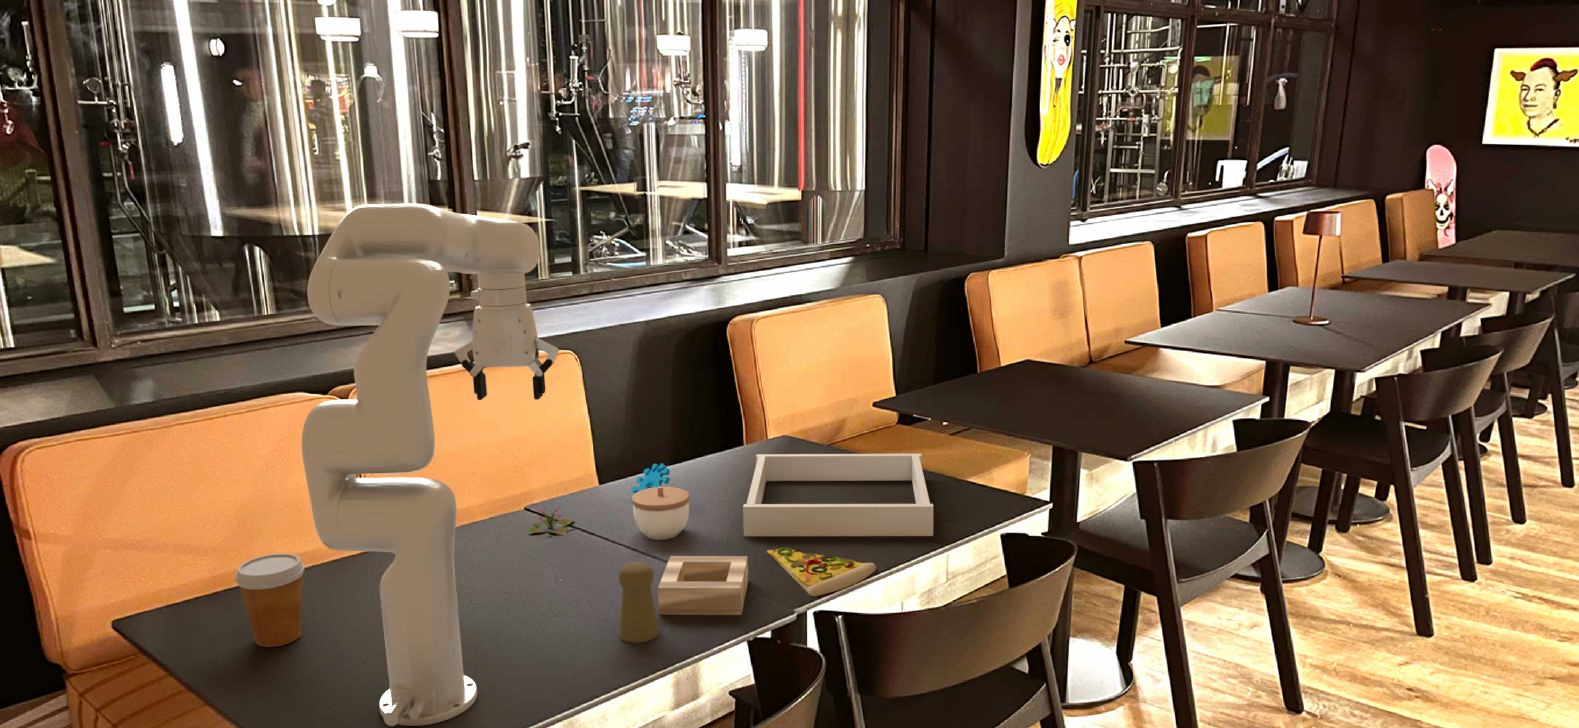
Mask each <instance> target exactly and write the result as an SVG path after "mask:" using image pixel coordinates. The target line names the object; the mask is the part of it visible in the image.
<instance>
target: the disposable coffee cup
mask: <svg viewBox="0 0 1579 728" xmlns="http://www.w3.org/2000/svg"><path fill="white" fill-rule="evenodd" d="M305 567H306V566H305V564H304V563H303V562H302V560H301V557H300V556H299V555H298V554H297V555H296V554H294V553H293V554H292V553H270V554H264V555H260V556H258V557H257V556H256V557H254V558H251V559H249V560H246V561H245V562H243V563H242V564H239V566H238V567H237V573H236V575H235V577H234V580H235V582H236V583H237V586H239V587H240V591H241V594H242V599H243V601H244V606H245V609H246V612H247V616H248V619H249V622H250V626H251V630H252V633H253V637H254V641H255V643H256V645H257V646H260V647H262V648H273V647H280V646H281V647H282V646H284V645H288V644H290V643H293V642H294V641H296V640H297V639H299V638H300V637H301V635H302V599H303V598H302V596H303V593H302V592H303V589H302V588H303V575H304V571H305V570H306V569H305Z"/></svg>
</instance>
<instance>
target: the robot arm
mask: <svg viewBox="0 0 1579 728" xmlns="http://www.w3.org/2000/svg"><path fill="white" fill-rule="evenodd" d="M540 250H541V247H540V241H539V238H538V236H537V234H536V232H535V231H534V230H533V228H532V227H531V226H529V225H528V224H527V223H523V222H520V221H515V220H508V219H500V218H491V217H485V216H480V215H472V214H466V213H457V212H454V211H450V210H446V209H444V208H440V207H436V206H433V205H429V204H423V203H397V204H396V203H393V204H388V203H387V204H385V203H384V204H382V203H380V204H361V205H358V206H355V207H354V208H351V210H349V211H348V212H347V213H346V214H345V216H343V217H342V218H341V220H340V221H339V222H338V224H337V225H336V227H335V228H334V230H333V231H332V233H331V235H330V237H329V238H328V240H327V242H326V243H325V245H324V248H323V249H322V251H321V253H320V254H319V256H318V257H317V260H315V261H316V262H315V264H314V265H313V268H312V270H311V271H310V275H309V279H308V282H307V288H306V291H307V293H306V294H307V299H308V300H307V302H308V304H309V305H308V306H309V308H310V310H311V312H312V313H313V315H314V316H315V317H316V318H317V319H318V320H319V321H321V322H323V323H325V324H326V325H327V324H328V325H331V326H332V325H333V326H337V327H338V326H340V327H342V326H344V327H346V326H378V327H377V328H376V329H375V330H374V331H373V333H372V334H371V335H370V337H369V338H368V339H367V340H366V342H365V343H364V344H363V346H362V348H361V349H360V350H359V353H358V354H357V356H356V360H355V361H354V364H353V365H354V366H353V377H354V383H355V391H356V399H354V398H353V399H331V400H327V401H323V402H320V403H319V404H317V405H315V406H314V407H313V408H312V409H311V410H310V411H309V413H308V414H307V415H306V418H305V421H304V422H303V423H304V424H303V426H302V427H303V429H302V432H301V454H302V462H303V467H304V473H305V480H306V483H307V484H306V485H307V490H308V495H309V501H310V508H311V513H312V517H313V522H314V526H315V527H314V528H315V531H316V533H317V536H318V538H319V540H320V542H321V543H322V544H323V546H325V547H327V548H329V549H331V550H334V551H340V552H384V553H392V554H394V555H395V558H394V560H393V561H392V563H391V564H390V565H389V566H388V568H387V569H386V570H385V572H384V573H383V575H382V577H381V579H380V583H379V584H380V585H379V599H380V606H381V607H380V608H381V609H380V610H381V617H382V626H383V637H384V645H385V647H384V648H385V654H386V664H387V674H388V684H389V689H388V690H386V691H385V692H384V693H383V694H382V696H381V697H380V699H379V701H378V708H379V713H380V715H381V717H382V718H383V722H384V723H385V724H386V725H387V726H390V727H394V726H396V725H400V726H405V727H406V726H407V727H412V726H413V727H418V726H420V727H421V726H428V725H433V724H438V723H441V722H444V721H448V720H450V719H453V718H455V717H457V716H459V715H461V714H463V712H465V711H467V710H468V709H469V708H471V706H472V705H474V703H475V701H476V699H477V697H478V686H477V684H476V682H475V681H474V680H473V679H472V678H470V677H468V676H467V675H465V674H464V666H463V664H464V663H463V655H462V653H463V651H462V641H461V629H460V628H461V627H460V619H459V607H458V596H457V595H458V594H457V586H456V584H457V583H456V573H455V535H456V534H455V533H456V522H457V510H458V509H457V508H458V507H457V499H456V497H455V493H454V492H453V489H452V488H451V487H450V486H449V485H447V484H445V483H444V482H443V481H440V480H438V479H434V478H431V477H419V476H387V477H358V476H357V475H396V474H397V475H400V474H401V475H402V474H409V473H415V472H418V471H422V470H424V469H425V468H427V467H428V465H429V464H431V462H432V461H433V458H434V454H435V448H436V446H435V444H436V443H435V440H436V439H435V428H434V421H433V420H434V419H433V413H432V405H431V399H430V391H429V390H430V389H429V384H428V383H429V382H428V373H427V363H428V362H427V359H428V354H429V352H430V348H431V344H432V342H433V339H434V337H435V335H436V332H437V330H438V327H439V325H440V323H441V320H442V318H443V315H444V313H445V310H446V308H447V305H448V301H449V299H450V291H451V290H450V289H451V288H450V287H451V283H450V277H449V274H448V272H449V273H460V274H467V275H469V274H471V275H477V282H478V287H477V289H475V290H471V291H470V299H472V300H477V301H478V304H479V305H477V306H475V307H474V311H473V322H472V323H473V324H472V341H470V342H468V343H466V344H464V345H463V346H461V347H459V348H458V349H455V351H454V354H455V356H456V358H457V359H458V361H459V362H460V363H461V366H462V367H463V369H465V371H467V372H468V373H469V375H470V377H472V381H473V382H472V383H473V392H474V393H473V394H475V395H476V399H477V401H481V400H483V399H484V398H486V397H487V396H488V391H487V388H488V387H487V377H486V374H485V372H483V371H484V369H485V368H518V367H519V368H520V367H528V368H529V369H530V370H531V371H532V373H534V375H533V377H532V389H533V390H532V392H533V399H534V400H540V399H541V398H542V397H543V395H544V394H545V393H546V380H545V373H546V372H547V371H548V370H549V369H550V368H551V367H552V366H553V365H554V363H555V361H556V358H557V356H558V354H559V351H560V349H559V348H558V347H556V346H554V345H553V344H550V343H548V342H546V341H544V340H543V339H540V338H538V331H537V325H536V320H535V316H534V313H533V309H532V306H531V303H528V302H527V291H526V290H527V289H526V277H525V274H527V273H530V272H531V271H533V270H534V269H535V268H536V266H537V265H538V262H539V260H540V255H541V254H540V252H541V251H540ZM540 350H541V351H543V352H544V353H546V354H547V356H546V360H544V362H542V361H541V360H540V359H539V357H540ZM470 351H472V356H473V357H472V358H473V360H472V359H470V358H469V355H468V352H470Z"/></svg>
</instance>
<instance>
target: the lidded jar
mask: <svg viewBox="0 0 1579 728" xmlns="http://www.w3.org/2000/svg"><path fill="white" fill-rule="evenodd" d="M690 496H691V495H690V493H689V491H687V490H685V489H683V488H679V487H674V486H666V487H664V486H662V487H654V488H648V489H644V490H641V491H639V492H637V493H633V496H632V495H631V497H632V500H631V504H632V513H633V520H634V521H635V524H636V526H637V528H638V529H639V530H640V532H641V533H642V534H644V535H645V536H646V537H647V538H649V539H652V540H658V541H659V540H668V539H672V538H674V537H677V536H678V535H679V534H680V533H681V532H682V531H683V530H684V528H686V527H685V526H686V525H687V522H688V520H689V516H690Z"/></svg>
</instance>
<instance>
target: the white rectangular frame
mask: <svg viewBox="0 0 1579 728" xmlns="http://www.w3.org/2000/svg"><path fill="white" fill-rule="evenodd" d="M755 455H756V456H755V468H754V473H753V477H752V481H751V484H750V488H749V492H748V495H747V501H746V503H744V504H743V506H742V517H743V519H742V520H743V537H933V536H934V504H933V503H931V501H930V497H929V493H928V489H927V484H926V480H925V476H924V471H923V467H922V454H921V453H815V454H814V453H798V454H797V453H793V454H792V453H787V454H785V453H783V454H782V453H781V454H777V453H775V454H769V453H767V454H766V453H765V454H761V453H760V454H759V453H758V454H755ZM785 481H787V482H789V481H791V482H794V481H795V482H800V481H801V482H808V481H810V482H816V481H817V482H818V481H819V482H820V481H821V482H822V481H823V482H826V481H827V482H829V481H834V482H835V481H837V482H838V481H843V482H844V481H845V482H846V481H847V482H849V481H854V482H855V481H862V482H863V481H864V482H865V481H911V483H912V487H913V494H914V499H915V503H774V504H773V503H762V502H763V498H764V492H765V487H766V483H767V482H785Z"/></svg>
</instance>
